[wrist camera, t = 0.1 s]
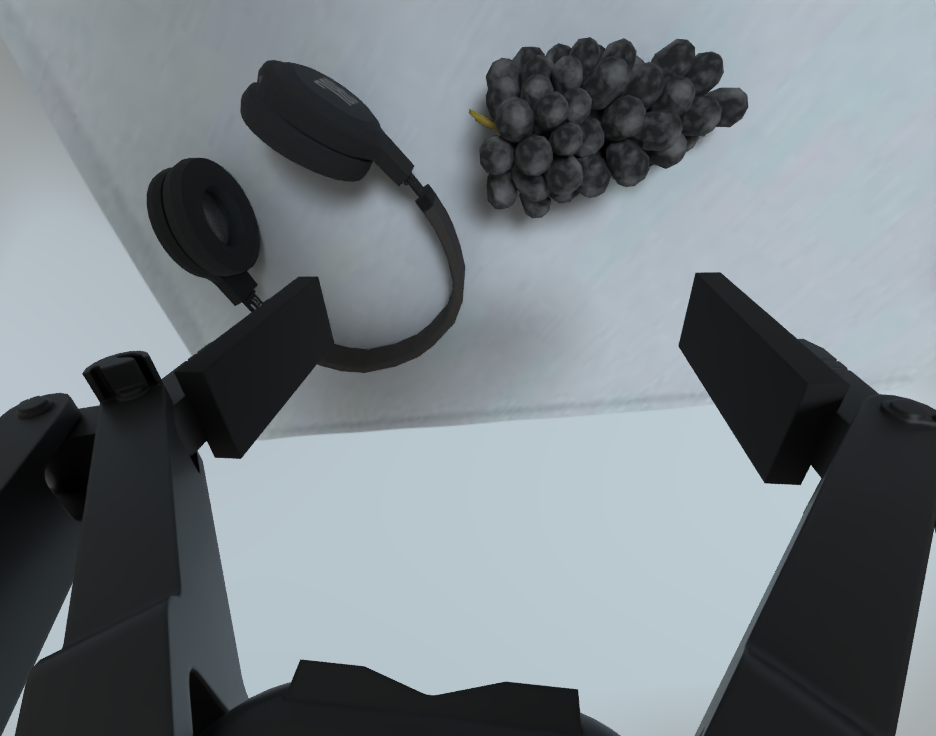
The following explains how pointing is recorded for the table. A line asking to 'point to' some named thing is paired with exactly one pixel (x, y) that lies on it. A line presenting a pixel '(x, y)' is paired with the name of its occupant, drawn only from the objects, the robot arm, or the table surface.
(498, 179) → the fruit
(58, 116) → the table surface
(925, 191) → the table surface
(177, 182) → the headphones
